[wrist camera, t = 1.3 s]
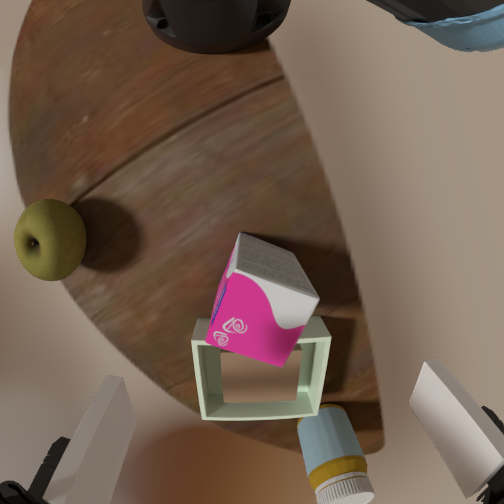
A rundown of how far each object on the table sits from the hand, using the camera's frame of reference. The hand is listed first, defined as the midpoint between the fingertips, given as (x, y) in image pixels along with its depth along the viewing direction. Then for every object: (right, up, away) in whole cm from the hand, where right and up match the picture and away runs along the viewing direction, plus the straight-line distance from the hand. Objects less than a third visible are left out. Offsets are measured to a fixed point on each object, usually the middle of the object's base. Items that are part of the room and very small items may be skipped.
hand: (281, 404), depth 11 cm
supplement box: (-1, +5, +18) cm, 19 cm away
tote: (0, -6, +21) cm, 21 cm away
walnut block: (0, -6, +20) cm, 21 cm away
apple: (-21, +8, +16) cm, 28 cm away
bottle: (+8, -17, +24) cm, 30 cm away
